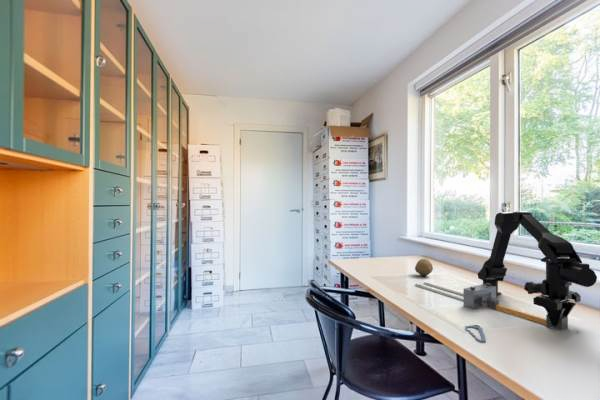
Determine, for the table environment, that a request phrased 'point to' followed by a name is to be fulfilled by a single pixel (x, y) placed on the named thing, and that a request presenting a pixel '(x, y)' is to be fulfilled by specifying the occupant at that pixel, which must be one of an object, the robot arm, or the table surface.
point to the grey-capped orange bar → (529, 315)
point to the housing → (469, 294)
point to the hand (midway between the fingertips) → (557, 324)
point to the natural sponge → (424, 267)
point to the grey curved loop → (479, 330)
